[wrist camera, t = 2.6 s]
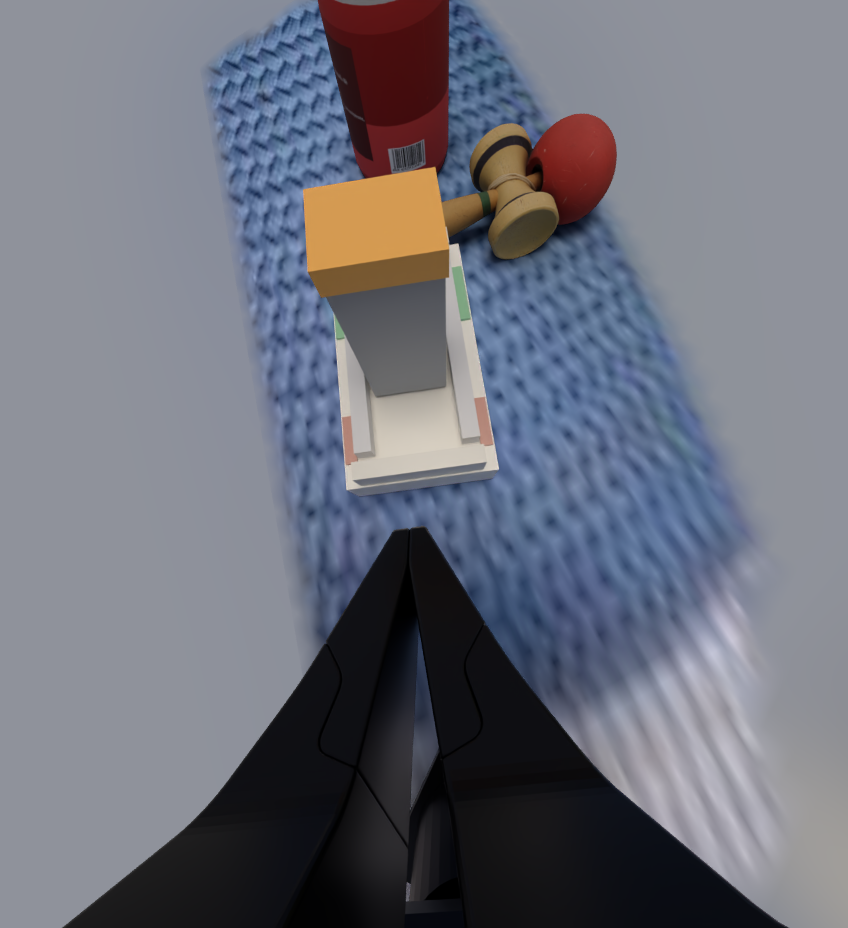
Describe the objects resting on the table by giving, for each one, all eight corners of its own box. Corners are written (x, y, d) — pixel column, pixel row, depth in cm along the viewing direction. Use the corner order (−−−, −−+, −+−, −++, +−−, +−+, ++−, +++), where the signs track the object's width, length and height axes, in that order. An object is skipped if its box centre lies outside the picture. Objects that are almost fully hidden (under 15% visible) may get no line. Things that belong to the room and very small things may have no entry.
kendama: (397, 322, 27) (625, 231, 25) (366, 251, 22) (657, 122, 19) (379, 261, 31) (580, 174, 28) (348, 184, 25) (596, 66, 22)
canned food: (466, 144, 29) (476, -85, 18) (411, 209, 28) (389, 5, 17) (395, 111, 31) (367, -120, 20) (340, 172, 29) (279, -39, 19)
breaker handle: (448, 389, 21) (449, 249, 11) (374, 399, 21) (307, 271, 11) (440, 339, 22) (435, 166, 12) (369, 350, 22) (303, 189, 12)
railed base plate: (492, 478, 23) (504, 461, 18) (359, 496, 23) (335, 484, 18) (457, 276, 26) (459, 216, 21) (342, 294, 27) (319, 239, 22)
